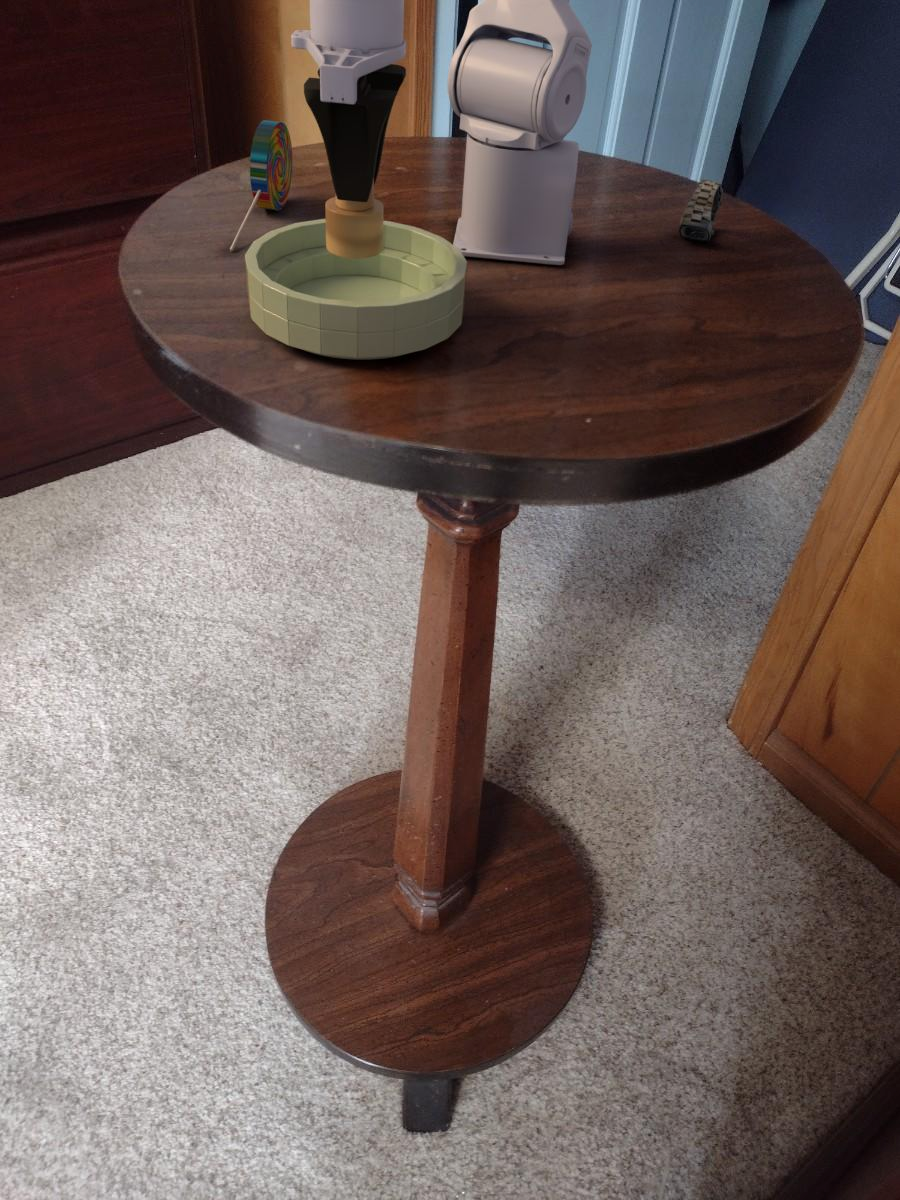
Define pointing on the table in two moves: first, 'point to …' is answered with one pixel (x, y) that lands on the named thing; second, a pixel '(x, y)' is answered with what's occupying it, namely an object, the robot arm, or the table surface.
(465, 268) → the bowl
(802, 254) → the table surface
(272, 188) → the lollipop
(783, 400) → the table surface
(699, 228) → the wristwatch
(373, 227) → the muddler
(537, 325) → the table surface
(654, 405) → the table surface
